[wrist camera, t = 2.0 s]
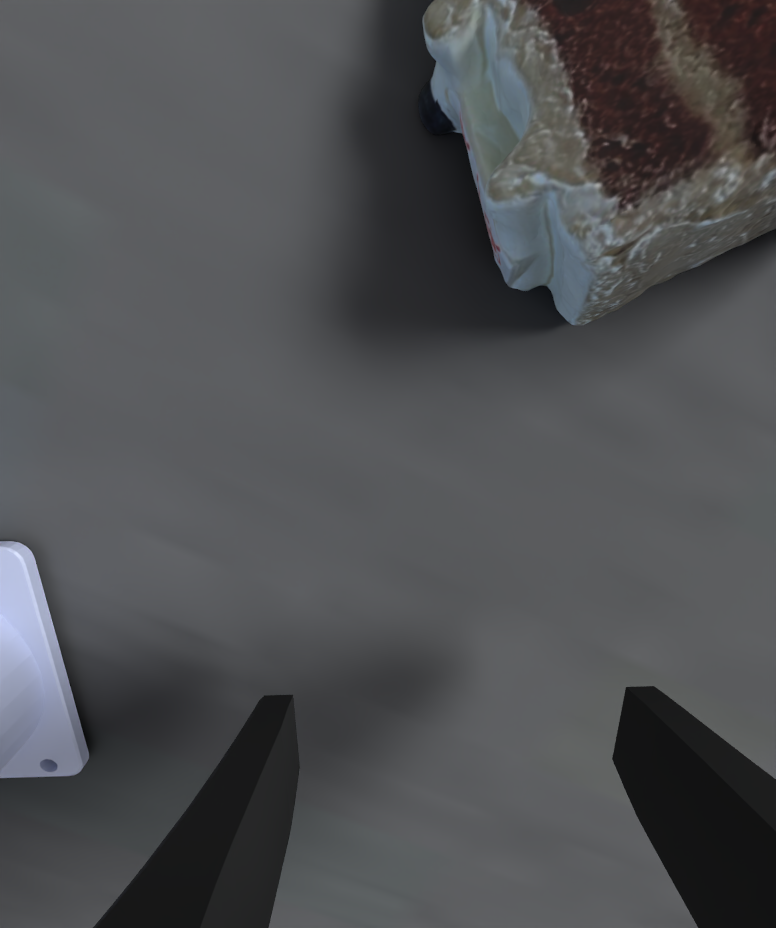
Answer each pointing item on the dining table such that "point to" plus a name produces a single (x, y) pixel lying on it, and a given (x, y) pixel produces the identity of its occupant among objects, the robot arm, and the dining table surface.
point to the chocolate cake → (609, 135)
